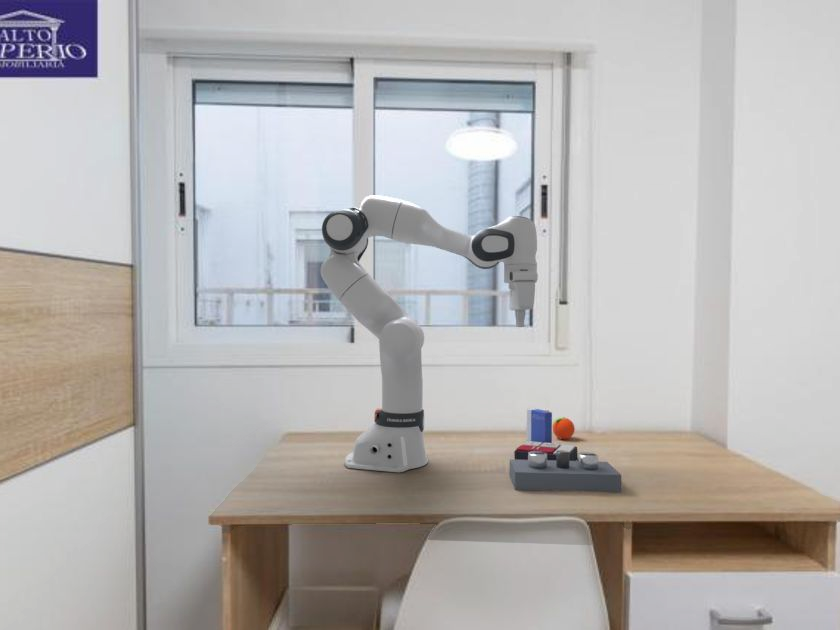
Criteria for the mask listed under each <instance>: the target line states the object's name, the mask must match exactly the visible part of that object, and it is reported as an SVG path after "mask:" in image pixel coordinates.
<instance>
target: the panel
mask: <svg viewBox="0 0 840 630" xmlns="http://www.w3.org/2000/svg"><path fill="white" fill-rule="evenodd" d="M509 478H510V481H511V483H512V485H513V487H514V490H518V491H519V490H520V491H524V490H525V491H550V490H556V491H557V490H558V491H557V492H559V491H560V492H591V493H593V492H594V493H596V492H597V493H622V474H621V473H620V472H619V471H618V470H617V469H616V468H614V467H613V466H612V465H611V464H610V463H609V462H608V461H599V460H598V469H597V470H584V469H581V468H579V460H576V461H569V468H568V469H562V468H558V467H556V460H547V468H545V469H534V468H531V467H529V466H528V460H515V459H509ZM556 491H555V492H556Z"/></svg>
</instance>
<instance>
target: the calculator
mask: <svg viewBox="0 0 840 630" xmlns="http://www.w3.org/2000/svg"><path fill="white" fill-rule="evenodd" d="M559 450H563V451H569V461H578V460H579V453H578V447H577V446H576V445H572V444H561V443H555V442H554V443H553V442H552V443H543V444H542V442H533V441H527V440H526V441H524V442H523V443H522V444H521V445H519V446H518V447H516V449H515V450H514V453H513V455H514V460H528V452H531V451H540V452H544V453H546V454H547V460H556V451H559Z"/></svg>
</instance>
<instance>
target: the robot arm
mask: <svg viewBox="0 0 840 630" xmlns="http://www.w3.org/2000/svg"><path fill="white" fill-rule="evenodd" d="M321 233H322V237H323V238H322V239H323V240H324V242H325V243H326V245H328V246H329V248H330V253H329V255H328V257H327V258H326V259H325V260H324V261H323V262H322V264H321V267H320V276H321V278H322V280H323V282H324V283H325V284H326V286H327V288H328V289H329V291H331V294H333V295H334V297H335V298H336V299H337V300H338V301H339V302H340V303H341V305H342V306H343V307H345V309H346V310H348V312H349V313H350V314H351V315H352V316H353V317H354V318H355V319H356V321H357V322H358V323H359V324H360V325H362V326H363V327H364V328H366V329H367V330H368V331H369V332H371V333H372V335H374V336H375V337H376V339H378V344H379V345H378V346H379V359H380V360H379V361H380V362H379V363H380V370H381V388H382V389H381V400H382V401H381V408H380V407H378V408H376V409H375V410H374V424H372V425H371V426H370V427H368V428H367V429H366V430H364V431H363V432H362V433H360V435H358V437H357V438H356V439H355V443H354V445H353V451H352V452H350V453H348V454H347V455H346V456H345V458H344V466H345V467H346V468H347V469H356V470H368V471H379V472H389V473H403V472H406V471H408V470H412V469H417V468H421V467H423V466H425V465H427V464H428V462H429V460H428V456H427V452H426V447H425V439H424V431H425V410H424V409H423V394H424V393H423V381H424V380H423V369H422V366H423V365H422V347H423V346H424V344H425V333H424V329H422V327H421V326H420V324H419V323H418V322H417V321H416V320H415V319H414V318H413V316H411V315H410V314H409V313H408V312H407V311H406V310H405V309H404V308H403V307H402V306H401V305H399V303H398V302H396V301H395V299H394V298H393V297H392V296H390V295H389V294H388V292H387V291H385V289H384V288H383V287H382V286H381V285H380V284H379V283H378V282H377V280H375V279H374V278H373V276H371V274H369V272H368V271H367V270H366V269H365V268H364V267H363V266H362V265H361V263H360V261H361V258H362V257H363V255H364V253H365V252H366V251H367V249H368V245H369V239H370V238H371V237H376V236H377V237H384V238H386V239H390V240H394V241H397V242H400V243H406V244H412V245H421V246H427V247H432V248H437V249H440V250H442V251H443V250H444V251H446V252H448V253H452V254H456V255H458V256H462V257H464V258H465V259H467V260H468V261H469V262H470V263H472V265H474V266H475V267H477V268H479V269H482V270H490V269H492V268H494V267H496V266H498V265H499V264H500V263H503V268H504V269H503V282H504V283H505V284H508V289H509V292H508V293H509V294H508V295H509V297H508V307H509V308H508V309H509V310H510V311H514V315H515V320H516V321H515V326H516V327H518V328H523V327H525V319H526V314H527V313H526V311H529V310H532V309H533V308H534V304H535V293H536V284H537V282H538V277H539V276H538V275H539V274H538V264H537V258H536V254H537V251H538V235H537V234H538V233H537V227H536V224H535V222H534V221H533V220H532V219H530V218H528V217H525V216H521V215H516V216H515V215H513V216H509V217H507V218H506V219H505V220H503V221H501V222H500V223H498V224H495V225H493V226H489V227H487V228H483V229H480V230H479V231H477V232H476V233H475V235H469V234H466V233H463V232H461V231H457V230H454V229H451V228H448V227H445V226H443V225H441V223H439V222H437V221H436V219H434V218H433V216H431V214H430V213H429V212H428V211H427V210H426V209H424V208H423V207H421V206H418V205H417V204H414V203H412V202H410V201H405V200H403V199H399V198H393V197H390V196H389V197H388V196H383V195H369V196H366V197H365V198H364V199H363V200H362V202H361V204H360V206H359V208H358V207H349V208H345V209H338V210H334V211H332V212H330V213H329V214H327V216H326V217H324V220H323V221H322V226H321Z"/></svg>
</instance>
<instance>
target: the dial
mask: <svg viewBox="0 0 840 630" xmlns="http://www.w3.org/2000/svg"><path fill="white" fill-rule="evenodd" d="M556 467H558V468H562V469H568V468H569V451H563V450H559V451H556Z"/></svg>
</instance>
